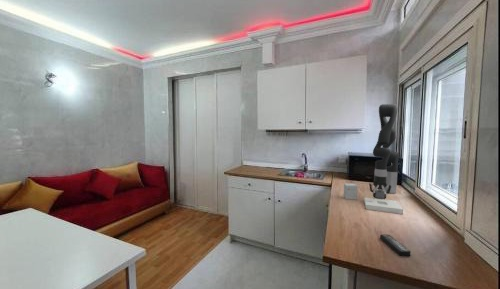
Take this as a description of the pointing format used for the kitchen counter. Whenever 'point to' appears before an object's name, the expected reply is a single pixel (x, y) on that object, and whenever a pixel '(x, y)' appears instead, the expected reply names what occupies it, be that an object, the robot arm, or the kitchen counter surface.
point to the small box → (350, 191)
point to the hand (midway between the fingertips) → (379, 198)
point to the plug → (379, 194)
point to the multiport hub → (395, 245)
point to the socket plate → (383, 205)
